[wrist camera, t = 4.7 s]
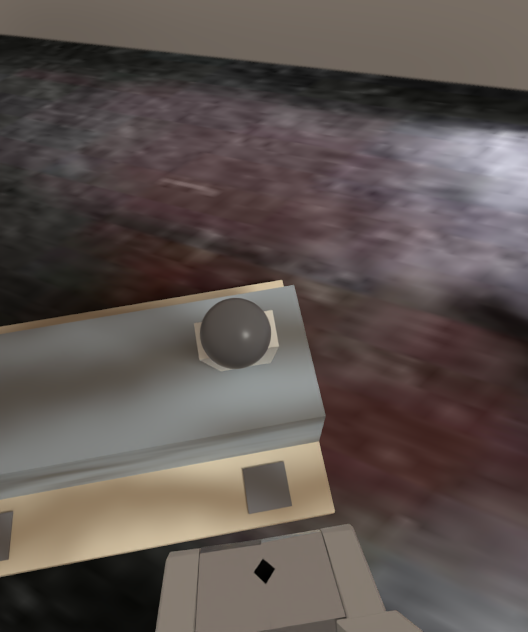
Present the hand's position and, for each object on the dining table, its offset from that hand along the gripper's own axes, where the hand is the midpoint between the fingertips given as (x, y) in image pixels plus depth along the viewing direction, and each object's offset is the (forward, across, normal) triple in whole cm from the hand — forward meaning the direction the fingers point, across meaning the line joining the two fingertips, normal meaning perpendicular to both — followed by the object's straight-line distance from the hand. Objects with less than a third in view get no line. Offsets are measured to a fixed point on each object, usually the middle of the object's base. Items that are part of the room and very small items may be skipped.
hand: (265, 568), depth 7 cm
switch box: (+25, -9, -9) cm, 28 cm away
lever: (+20, 0, -4) cm, 20 cm away
